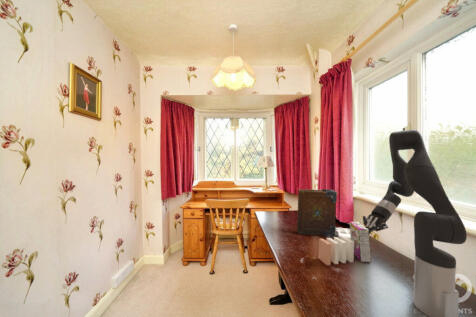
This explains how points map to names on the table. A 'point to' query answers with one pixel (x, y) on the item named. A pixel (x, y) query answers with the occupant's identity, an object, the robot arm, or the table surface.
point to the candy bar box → (360, 241)
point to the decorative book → (316, 212)
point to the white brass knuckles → (343, 233)
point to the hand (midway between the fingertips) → (365, 234)
